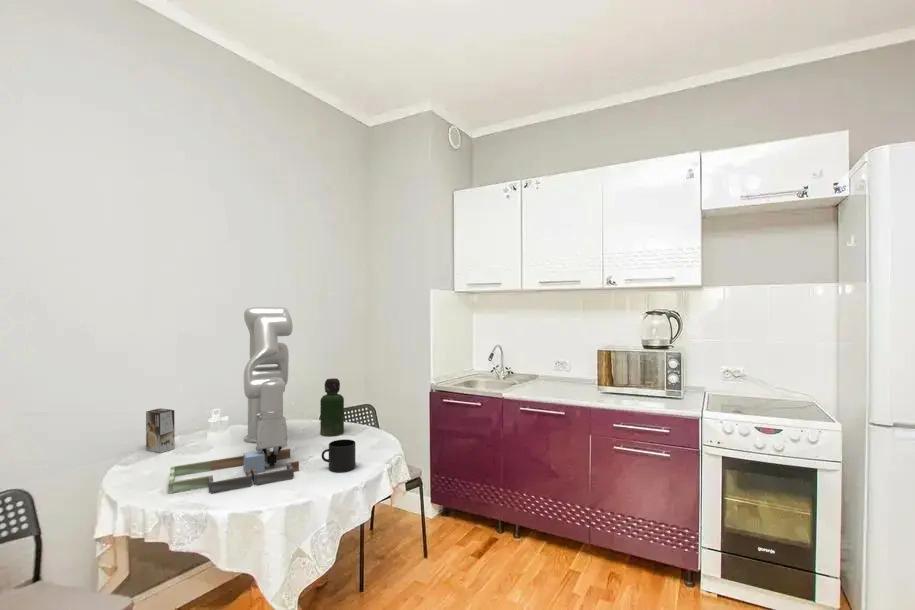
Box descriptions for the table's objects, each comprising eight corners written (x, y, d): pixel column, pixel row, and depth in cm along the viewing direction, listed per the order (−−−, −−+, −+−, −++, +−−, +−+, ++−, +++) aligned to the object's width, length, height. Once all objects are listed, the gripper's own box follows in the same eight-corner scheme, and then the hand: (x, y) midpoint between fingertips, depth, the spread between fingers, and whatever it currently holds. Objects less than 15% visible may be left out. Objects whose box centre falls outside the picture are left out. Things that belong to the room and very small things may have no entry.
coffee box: (175, 448, 187) (175, 409, 187) (160, 453, 181) (160, 413, 181) (160, 446, 190) (160, 407, 190) (144, 450, 184) (145, 411, 184)
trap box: (170, 476, 157) (170, 466, 157) (289, 456, 176) (289, 448, 176) (167, 501, 136) (167, 491, 136) (302, 476, 156) (302, 467, 156)
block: (243, 469, 162) (243, 453, 163) (261, 466, 166) (261, 450, 166) (246, 475, 157) (246, 457, 157) (264, 471, 161) (264, 454, 161)
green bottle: (333, 429, 216) (333, 376, 216) (348, 432, 210) (348, 378, 210) (315, 434, 208) (315, 379, 208) (330, 438, 202) (330, 381, 202)
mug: (324, 464, 168) (324, 439, 168) (357, 463, 170) (357, 438, 170) (318, 473, 159) (318, 447, 159) (353, 472, 160) (353, 446, 160)
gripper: (250, 419, 158) (250, 472, 158) (295, 414, 166) (295, 464, 166) (248, 415, 164) (248, 466, 164) (291, 410, 172) (291, 458, 172)
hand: (271, 465), depth 165 cm, fingers closed
